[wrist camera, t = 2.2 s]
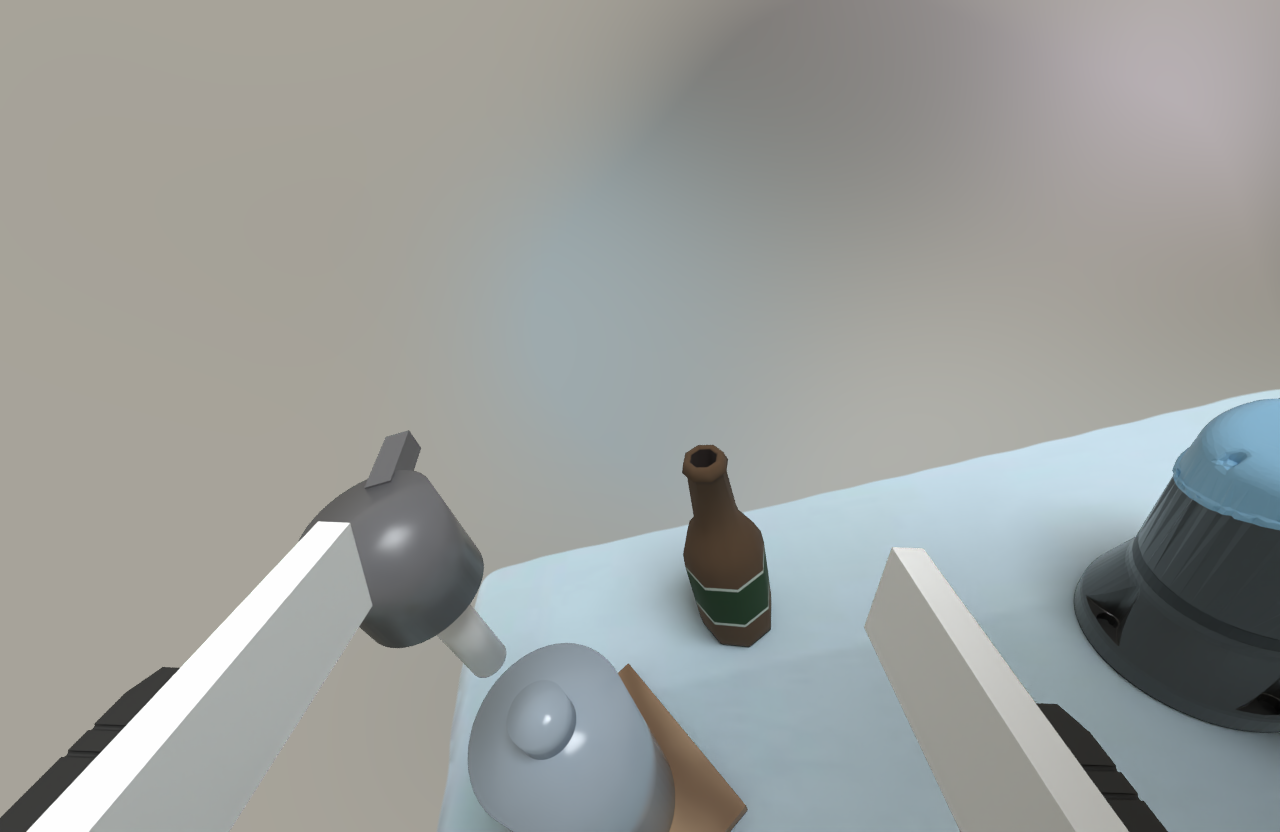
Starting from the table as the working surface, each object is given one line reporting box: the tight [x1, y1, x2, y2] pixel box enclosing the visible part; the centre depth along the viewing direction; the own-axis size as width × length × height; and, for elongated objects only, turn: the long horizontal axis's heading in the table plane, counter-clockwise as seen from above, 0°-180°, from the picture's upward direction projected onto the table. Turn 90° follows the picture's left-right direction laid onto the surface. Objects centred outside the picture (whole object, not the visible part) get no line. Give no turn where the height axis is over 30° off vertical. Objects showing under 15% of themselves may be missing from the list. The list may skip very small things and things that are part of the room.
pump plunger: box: [299, 431, 506, 678], centre depth 25 cm, size 6×8×12 cm
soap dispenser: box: [468, 643, 675, 832], centre depth 37 cm, size 11×11×18 cm
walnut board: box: [618, 664, 748, 832], centre depth 43 cm, size 16×16×1 cm
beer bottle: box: [682, 445, 771, 647], centre depth 46 cm, size 8×8×24 cm
